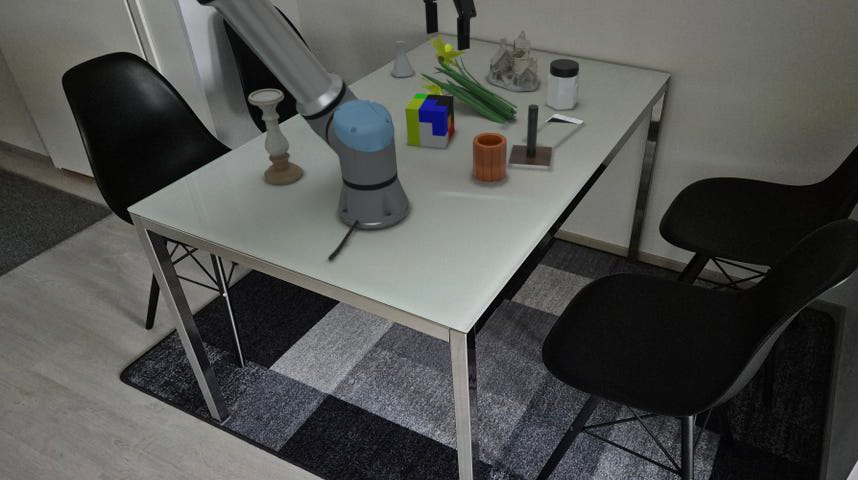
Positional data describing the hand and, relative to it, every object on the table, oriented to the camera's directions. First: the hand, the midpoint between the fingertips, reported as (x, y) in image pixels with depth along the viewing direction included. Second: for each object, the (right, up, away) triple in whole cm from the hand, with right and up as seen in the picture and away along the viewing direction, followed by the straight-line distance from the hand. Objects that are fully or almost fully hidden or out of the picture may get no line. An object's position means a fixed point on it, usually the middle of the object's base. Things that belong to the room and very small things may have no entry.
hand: (447, 40), depth 141 cm
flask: (-18, +12, +62) cm, 66 cm away
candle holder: (-40, -29, +10) cm, 50 cm away
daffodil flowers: (+5, -6, +40) cm, 40 cm away
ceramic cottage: (+18, +7, +56) cm, 59 cm away
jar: (+31, -3, +43) cm, 53 cm away
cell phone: (+27, -14, +28) cm, 42 cm away
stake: (+20, -24, +16) cm, 35 cm away
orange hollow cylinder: (+10, -30, +9) cm, 32 cm away
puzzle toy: (-6, -17, +26) cm, 31 cm away
